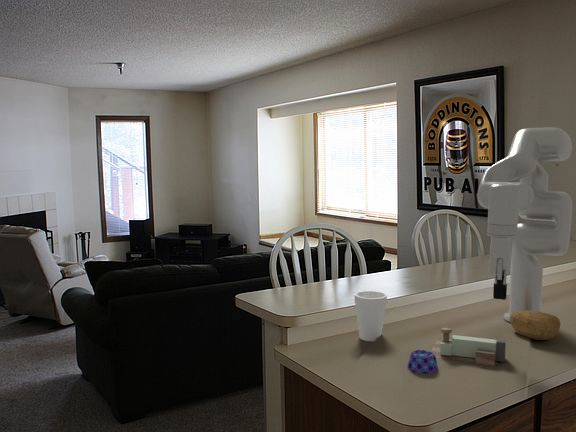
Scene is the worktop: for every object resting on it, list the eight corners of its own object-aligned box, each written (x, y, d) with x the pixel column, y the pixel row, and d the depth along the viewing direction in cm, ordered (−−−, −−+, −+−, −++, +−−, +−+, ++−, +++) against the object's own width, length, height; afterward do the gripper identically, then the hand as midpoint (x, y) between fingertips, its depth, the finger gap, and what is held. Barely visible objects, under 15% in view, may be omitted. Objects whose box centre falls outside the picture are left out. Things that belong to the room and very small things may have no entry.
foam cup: (385, 344, 161) (386, 299, 160) (353, 342, 163) (353, 298, 162) (386, 333, 170) (387, 291, 169) (355, 331, 172) (356, 290, 171)
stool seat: (438, 341, 163) (438, 315, 162) (500, 350, 156) (501, 322, 155) (427, 360, 148) (428, 332, 147) (496, 370, 141) (497, 340, 140)
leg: (440, 354, 148) (440, 336, 148) (442, 349, 152) (442, 331, 152) (504, 362, 143) (505, 343, 142) (505, 356, 146) (505, 338, 146)
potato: (517, 329, 173) (518, 304, 172) (565, 340, 163) (566, 313, 162) (502, 336, 167) (503, 310, 166) (551, 348, 156) (552, 320, 156)
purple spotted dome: (424, 387, 132) (424, 365, 132) (387, 371, 142) (388, 351, 141) (457, 375, 139) (458, 355, 138) (420, 361, 149) (420, 341, 148)
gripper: (489, 226, 157) (487, 291, 159) (484, 233, 144) (482, 303, 146) (518, 228, 154) (516, 293, 156) (516, 234, 141) (513, 306, 143)
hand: (499, 298), depth 151 cm, fingers closed
